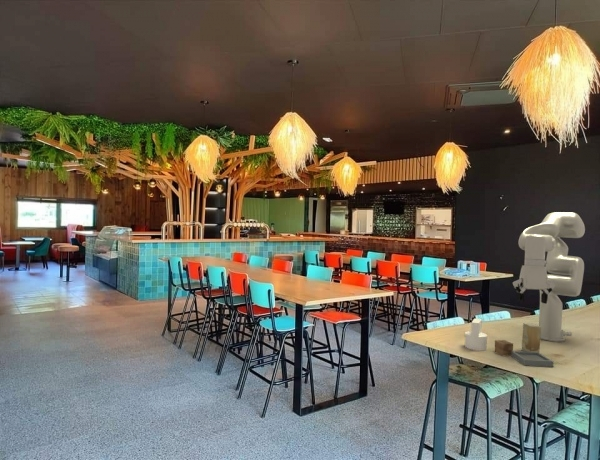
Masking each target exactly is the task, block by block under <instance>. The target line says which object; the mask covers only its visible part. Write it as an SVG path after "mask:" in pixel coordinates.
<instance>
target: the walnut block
mask: <svg viewBox="0 0 600 460" xmlns="http://www.w3.org/2000/svg"><path fill="white" fill-rule="evenodd" d="M511 351H514V343H513V342H510V341H507V340H506V339H502V340H499V339H497V340H494V351H493V352H494V353H497V354H499V355H501V356H502V357H504V356H511Z"/></svg>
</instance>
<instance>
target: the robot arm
mask: <svg viewBox="0 0 600 460" xmlns="http://www.w3.org/2000/svg"><path fill="white" fill-rule="evenodd" d="M585 231H586V227H585V224H584V221H583V219H582V218H581V217H580V215H579V214H578V213H576V212H565V211H563V212H561V211H560V212H559V211H558V212H557V211H556V212H555V211H554V212H551V213H548V214H547V215H546V216H545V217H544V218H543V219H542V221H541V223H539V224H535V225H532V226H529V227H527V228H525V229H524V230H523V232H521V234H520V235H519V239H518V247H519V248H520V249H521V250H523V251H524V263H523V264H524V265H521V268H520V273H519V279H517V280H514V281H513V282H512V285H513V288H514V289H515V290H516V293H518V294H517V300H518V302H520V303H521V304H523V303H524V302H525V293H524V292H525V291H526V290H539V311H538V313H539V316H538V326H540V327H541V337H540V340H543V341H549V342H557V343H558V342H559V343H560V342H565V340H566V339H565V337H571V336H572V334H573V333H572V331H565V330H564V329H563V330H562V323H563V308H564V307H563V305H564V304H563V302H562V300H561V299H560V297H559V295H560V296H567V297H577V296H580V294H581V292H582V287H583V286H582V285H583V279H584V272H585V263H584V260H583V259H582V258H581V257H580V256H573V255H568V254H569V247H568V245H567V243H566V242H564V240H563V239H562V238H569V239H570V238H571V239H580V238H582V237H583V236H584V234H585V233H586V232H585ZM546 252H547V254H546Z"/></svg>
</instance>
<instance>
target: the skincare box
mask: <svg viewBox="0 0 600 460" xmlns="http://www.w3.org/2000/svg"><path fill="white" fill-rule="evenodd" d="M540 337H541V327H540V326H539V324H538V325H537V324H535V323H533V322H523V324H522V340H521V351H523V352H539V353H540V350H541V339H540Z"/></svg>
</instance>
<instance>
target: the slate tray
mask: <svg viewBox="0 0 600 460" xmlns="http://www.w3.org/2000/svg"><path fill="white" fill-rule="evenodd" d="M510 357H511V358H513V359H514V360H515V361H517V362H519V363H520V364H522V365H523V366H525V365H529V366H528V367H545V368H546V367H547V368H553V367H554V361H553V360H552V359H551V358H549V357H547V356H545V355H543V354H542V353H540V351H539V352H525V351H523V350H521V351H517V350H513V351H511V355H510Z"/></svg>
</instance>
